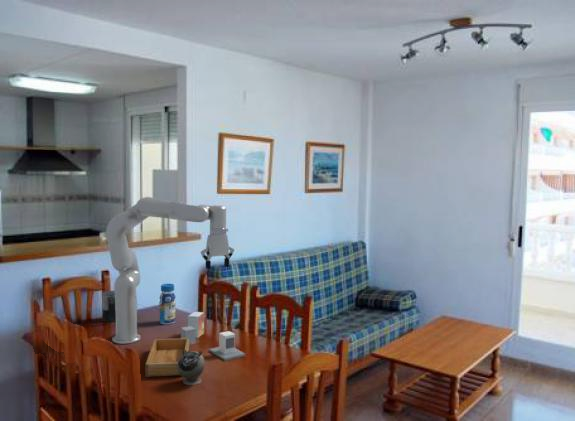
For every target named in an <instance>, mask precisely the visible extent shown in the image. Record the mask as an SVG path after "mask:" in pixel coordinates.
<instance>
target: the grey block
mask: <svg viewBox="0 0 575 421" xmlns="http://www.w3.org/2000/svg"><path fill="white" fill-rule="evenodd" d="M180 338H189V346H190V345H195V344H196V343H197V342H196V339H197V338H196V329H195V328H193V327H192V326H188V325H187V326H182V327H180Z"/></svg>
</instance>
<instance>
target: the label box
mask: <svg viewBox="0 0 575 421" xmlns="http://www.w3.org/2000/svg"><path fill="white" fill-rule="evenodd" d="M218 338H219V341H218V342H219V344H218V347H219V351H220V352H222V353H224V354H228V353H232V352H235V348H236V334H235V333H234V332H232V331H230V330H229V331H222V332H219V333H218Z"/></svg>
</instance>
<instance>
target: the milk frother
mask: <svg viewBox="0 0 575 421" xmlns="http://www.w3.org/2000/svg"><path fill="white" fill-rule="evenodd" d="M101 294H102V295H101V296H102V299H101V300H102V302H101V303H102V314H101V315H102V318H101V321H102V322H104V323H111V322H113V323H114V322H116V308H115V291H114V290H106V291H102V292H101Z"/></svg>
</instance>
